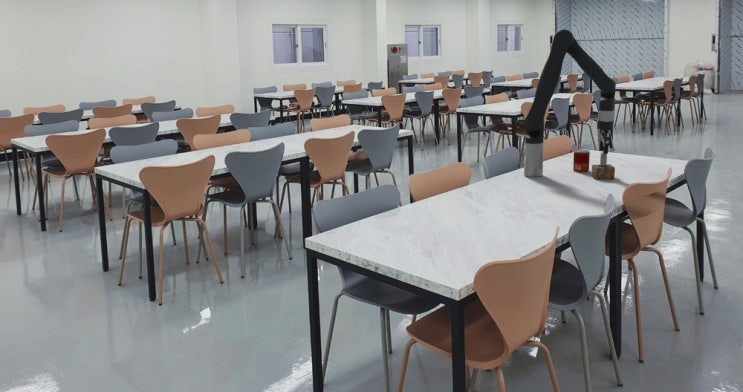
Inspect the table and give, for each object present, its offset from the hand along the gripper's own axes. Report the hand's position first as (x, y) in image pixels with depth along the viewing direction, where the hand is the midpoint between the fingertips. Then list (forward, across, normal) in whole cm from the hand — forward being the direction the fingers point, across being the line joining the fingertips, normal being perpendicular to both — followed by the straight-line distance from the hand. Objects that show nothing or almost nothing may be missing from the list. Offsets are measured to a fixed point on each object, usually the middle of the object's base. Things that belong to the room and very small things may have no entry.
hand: (603, 152), depth 323 cm
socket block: (+13, 0, 0) cm, 13 cm away
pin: (+12, 0, 0) cm, 12 cm away
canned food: (+14, -18, -7) cm, 24 cm away
